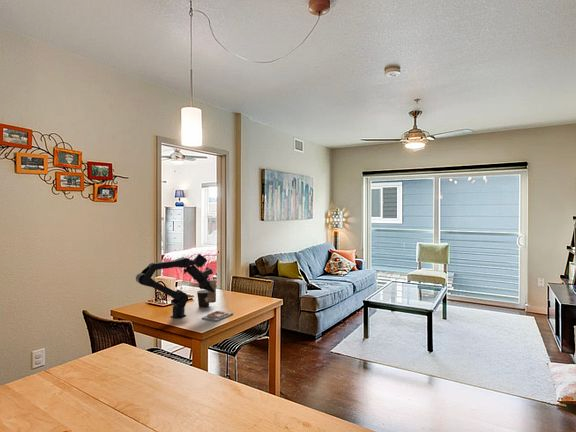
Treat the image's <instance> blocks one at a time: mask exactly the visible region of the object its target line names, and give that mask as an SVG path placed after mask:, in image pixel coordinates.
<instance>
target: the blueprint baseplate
mask: <svg viewBox="0 0 576 432" xmlns="http://www.w3.org/2000/svg"><path fill="white" fill-rule="evenodd" d="M233 315H234V312H230V311H224V310H215V311H212V312H209V313H207V315H205V316H202V317H201V320H204V321H209V322H215V323H218V322H220V321H221V320H224V319H227V318H228V317H231V316H233Z"/></svg>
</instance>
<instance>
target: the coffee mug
mask: <svg viewBox="0 0 576 432" xmlns="http://www.w3.org/2000/svg"><path fill="white" fill-rule="evenodd" d="M196 293H197V294H196V296H197V301H198V302H197V303H198V308H200V309H206V308H209V307H210V303H208V290H205V289H200V290H197V291H196Z"/></svg>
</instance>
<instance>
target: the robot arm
mask: <svg viewBox="0 0 576 432" xmlns="http://www.w3.org/2000/svg"><path fill="white" fill-rule="evenodd" d="M207 262H208V259H207V258H206V257H204V256H203V255H202V254H201V253H198V254H197V256H196V257H194V259H190V258H188V257H184V256H183V257H179V258H176V259H174V260H166V261H160V262H159V261H158V262H151V263H149V264H148V266H146V267H145V268H144V269H142V271H141V272H140V273H138V274H136V276H135V281H136V283H138V284H140V285H142V286H144V287H149V288H153V289H155V290H157V291H158V292H161V293H163V294H165V295H166V296H169V297H171V298H172V300H171V302H170V303H171V305H172V315H171V316H170V318H173V319H180V318H183V317H186V316H187V314H185V308H186V304H187V303H188V301H189V296H188V295H187V293H186V292H184V291H182V290H180V289H178V288H176V290H173V289H171V288H169V287H168V286H165V285H163V284H161V283H159V282H158V281H156V280H154V279H153V276H154V274H155V272H156V271H158V270H166V269H171V268H182V272H183V275H185V274H188V275H189V276H191V277H192V279H193V280H195V281H196V282H197V284H198V288H199V289H200V290H208V291H211V292H214V289H213V288H212V287H211V285H210V281H209V280H211V278H210V276H211V275H213V274H214V271H213V269H212V267H208V266H207V267H205V270H204V271H202V270H200V269H201V268H203V266H204V265H205V264H206V263H207ZM199 268H200V269H199Z"/></svg>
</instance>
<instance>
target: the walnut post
mask: <svg viewBox="0 0 576 432" xmlns="http://www.w3.org/2000/svg"><path fill="white" fill-rule="evenodd" d="M209 281H210V285H211V287H212V288H213V289H214V292H211V291H208V303H209V304H212V303H213V304H214V303H216V301H217V280H216V279H210V280H209Z"/></svg>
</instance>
